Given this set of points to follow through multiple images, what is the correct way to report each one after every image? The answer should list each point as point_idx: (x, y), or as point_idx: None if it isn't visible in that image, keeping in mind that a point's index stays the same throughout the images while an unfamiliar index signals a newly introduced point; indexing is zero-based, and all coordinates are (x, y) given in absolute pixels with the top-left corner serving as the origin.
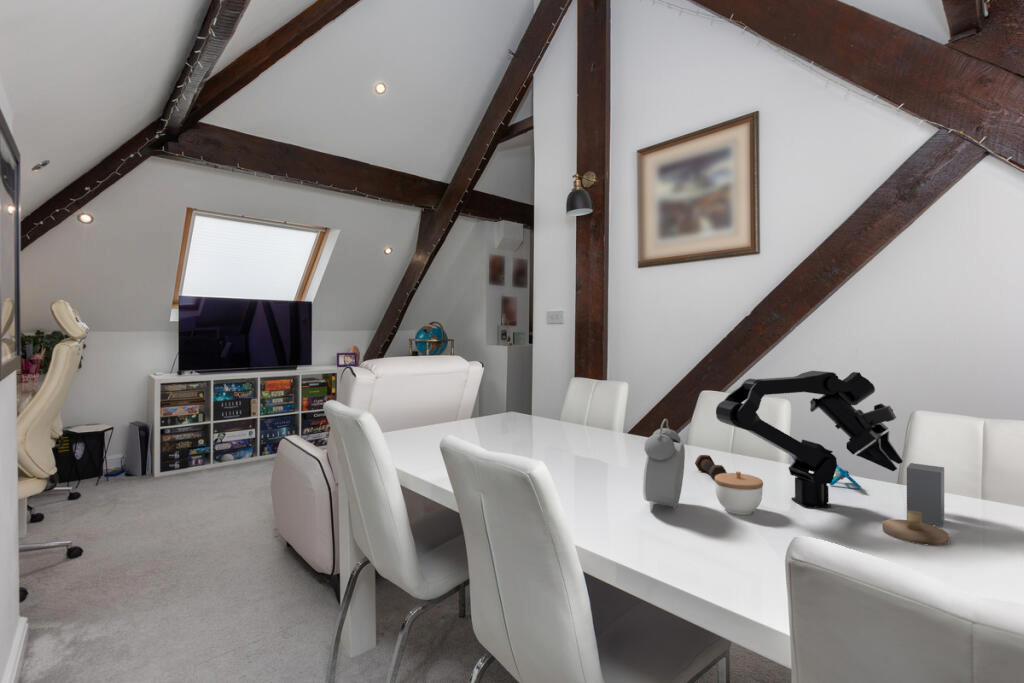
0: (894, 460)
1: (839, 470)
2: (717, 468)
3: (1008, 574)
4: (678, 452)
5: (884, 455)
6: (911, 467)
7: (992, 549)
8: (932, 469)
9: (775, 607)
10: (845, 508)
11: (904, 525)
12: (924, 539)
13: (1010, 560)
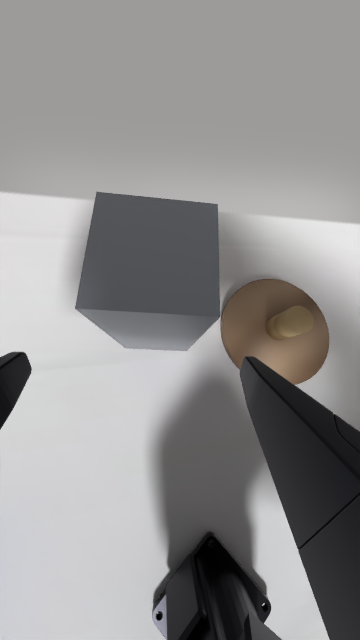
0: (15, 394)
1: None
2: None
3: (341, 228)
4: None
5: (347, 427)
6: (196, 299)
7: (252, 235)
8: (178, 228)
9: None
10: (185, 492)
11: (269, 346)
12: (320, 311)
13: (283, 221)
